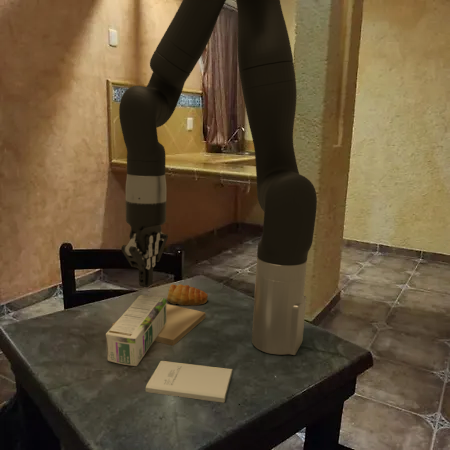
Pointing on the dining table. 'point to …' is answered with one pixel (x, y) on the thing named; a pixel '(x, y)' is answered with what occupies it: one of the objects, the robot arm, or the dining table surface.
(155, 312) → the syrup box
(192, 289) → the pastry
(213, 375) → the external hard drive
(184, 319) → the board
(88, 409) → the dining table surface
